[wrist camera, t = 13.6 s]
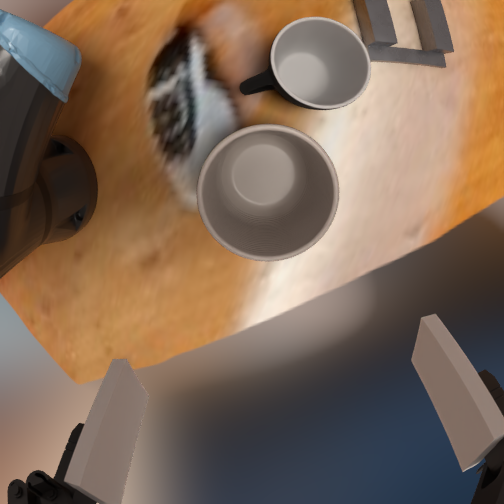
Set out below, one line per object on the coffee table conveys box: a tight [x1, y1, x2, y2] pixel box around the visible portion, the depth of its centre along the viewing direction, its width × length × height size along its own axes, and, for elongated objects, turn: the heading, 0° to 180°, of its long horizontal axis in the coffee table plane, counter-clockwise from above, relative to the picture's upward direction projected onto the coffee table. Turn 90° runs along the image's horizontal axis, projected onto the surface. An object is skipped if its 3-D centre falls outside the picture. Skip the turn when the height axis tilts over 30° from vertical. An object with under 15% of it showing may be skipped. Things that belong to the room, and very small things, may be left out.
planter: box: [197, 124, 339, 261], centre depth 30 cm, size 12×12×11 cm
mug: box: [240, 17, 371, 110], centre depth 25 cm, size 12×9×10 cm
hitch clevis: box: [353, 0, 454, 68], centre depth 24 cm, size 12×10×4 cm
